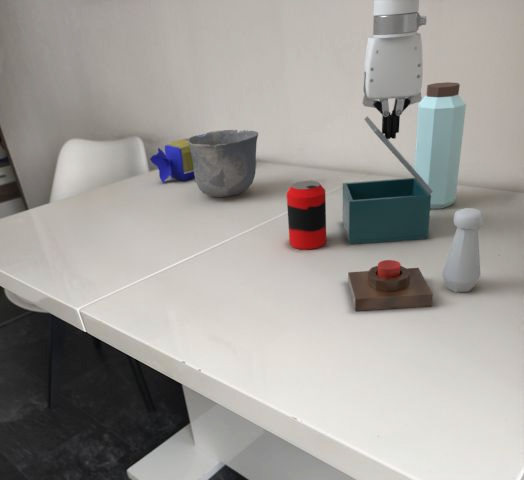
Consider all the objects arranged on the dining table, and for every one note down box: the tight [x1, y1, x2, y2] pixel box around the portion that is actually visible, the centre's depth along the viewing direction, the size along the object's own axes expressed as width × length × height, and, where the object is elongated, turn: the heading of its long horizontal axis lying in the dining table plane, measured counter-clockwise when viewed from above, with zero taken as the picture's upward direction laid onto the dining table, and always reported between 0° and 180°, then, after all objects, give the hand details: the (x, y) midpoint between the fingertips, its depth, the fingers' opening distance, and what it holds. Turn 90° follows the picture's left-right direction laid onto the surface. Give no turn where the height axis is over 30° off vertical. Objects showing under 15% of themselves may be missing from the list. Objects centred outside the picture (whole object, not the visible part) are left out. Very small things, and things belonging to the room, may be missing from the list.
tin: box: [342, 177, 431, 245], centre depth 111 cm, size 16×13×9 cm
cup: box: [188, 129, 259, 198], centre depth 140 cm, size 18×18×15 cm
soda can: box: [286, 180, 327, 251], centre depth 108 cm, size 8×8×12 cm
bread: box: [149, 133, 205, 183], centre depth 163 cm, size 10×25×10 cm, turn 130°
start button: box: [377, 259, 402, 278], centre depth 87 cm, size 4×4×2 cm
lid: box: [364, 116, 433, 194], centre depth 105 cm, size 16×13×1 cm
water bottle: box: [412, 81, 467, 210], centre depth 118 cm, size 10×10×25 cm
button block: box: [347, 265, 434, 312], centre depth 88 cm, size 12×10×4 cm
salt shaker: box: [442, 207, 484, 293], centre depth 86 cm, size 6×6×13 cm
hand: (390, 137), depth 103 cm, fingers closed
